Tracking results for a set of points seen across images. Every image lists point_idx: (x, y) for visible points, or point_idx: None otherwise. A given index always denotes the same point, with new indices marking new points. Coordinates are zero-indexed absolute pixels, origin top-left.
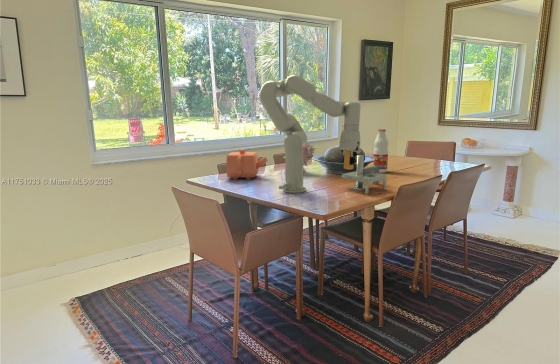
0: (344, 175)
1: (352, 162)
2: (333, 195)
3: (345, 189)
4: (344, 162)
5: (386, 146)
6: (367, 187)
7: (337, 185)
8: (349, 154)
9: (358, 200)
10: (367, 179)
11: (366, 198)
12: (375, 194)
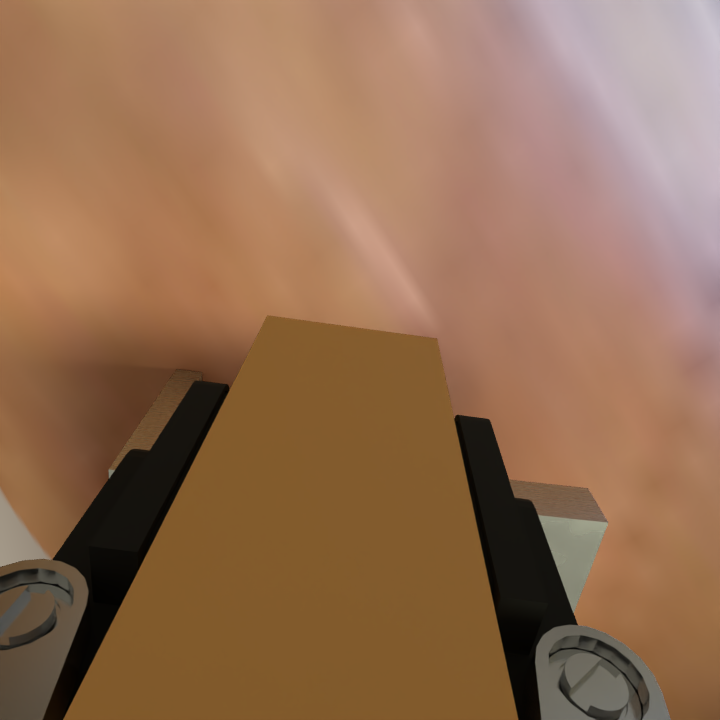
0: (549, 509)
1: (137, 451)
2: (454, 66)
3: (483, 406)
4: (434, 418)
5: None
6: (150, 410)
7: (643, 490)
8: (132, 647)
9: (66, 69)
10: (114, 468)
11: (69, 222)
12: (120, 424)
